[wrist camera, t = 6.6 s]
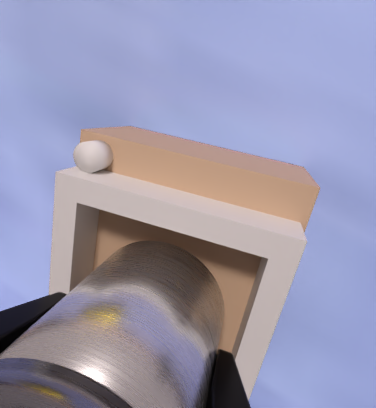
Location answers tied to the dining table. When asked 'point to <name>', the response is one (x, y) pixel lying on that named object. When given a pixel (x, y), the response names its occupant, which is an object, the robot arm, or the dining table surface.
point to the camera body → (188, 222)
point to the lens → (122, 337)
